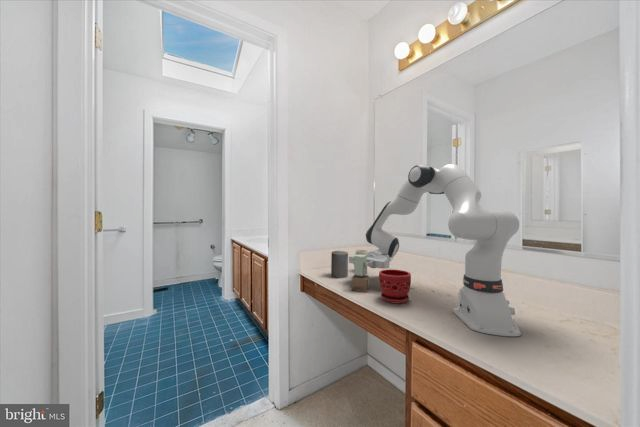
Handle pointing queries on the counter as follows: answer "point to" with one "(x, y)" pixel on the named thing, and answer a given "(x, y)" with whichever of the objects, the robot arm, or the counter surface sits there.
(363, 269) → the sage brick
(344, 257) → the pillar candle
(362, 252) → the character mug
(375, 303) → the counter surface
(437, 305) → the counter surface
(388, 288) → the plant pot
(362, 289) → the walnut base
